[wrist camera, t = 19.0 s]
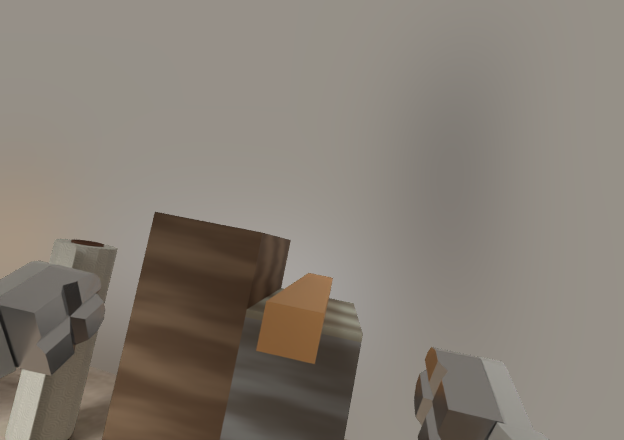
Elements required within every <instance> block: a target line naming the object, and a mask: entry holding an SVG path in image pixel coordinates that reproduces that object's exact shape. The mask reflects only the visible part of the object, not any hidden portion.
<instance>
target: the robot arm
mask: <svg viewBox="0 0 624 440" xmlns="http://www.w3.org/2000/svg"><path fill="white" fill-rule="evenodd" d="M101 288H102V287H101V282H100V278H99V276H97V275H95V274H94V273H90V272H86V271H82V270H78V269H73V268H69V267H65V266H61V265H55V264H51V263H47V262H43V261H34V262H30V263H28V264H26V265H25V266H23V267H21V268H19V269H18V270H16V271H14V272H13V273H11V274H9V275H7V276H5V277H4V278H2V279H0V378H2V377H4V376H6V375H8V374H10V373H12V372H14V371H15V370H16V368H18V369H23V370H27V371H32V372H37V373H41V374H46V375H50V376H52V375H53V374H54V373H55V372H56V371H57V370H58V369H59V368H60V367H61V366H62V365H63V364H64V363H65V362H66V361H67V360H68V359H69V358H70V357H71V356H72V355H73V354H74V353H75V347H76V345H77V344H79V343H82V342H84V341H86V340H89V339H90V338H91V337H92V336H93V335H94V334H95V333H96V332H97V331H98V329H99V327H100V325H101V323H102V321H103V320H104V314H105V306H104V302H103V300H102V299H101V298H100V297H99V295H98V294H97V293H98V292H99V291H100V289H101ZM425 362H426V368H427V369H426V370H425V371H423V372H421V373H420V374H419V377H418V380H417V384H416V390H415V397H414V399H415V400H414V404H415V415H416V418H417V420H418V421H419V422H420V424H421V425H422V427H421V430H420V433H419V435H418V440H549V439H548V438H547V437H546V436H545V435H544V434H543V433H540V432H537V431H534V429H533V427H532V424H531V422H530V420H529V418H528V415H527V413H526V411H525V409H524V406H523V404H522V402H521V400H520V397H519V395H518V393H517V391H516V388H515V386H514V384H513V382H512V380H511V377H510V375H509V373H508V370H507V368H506V366H505V365H504V364H503V363H502V362H501V361H498V360H493V359H488V358H483V357H475V356H471V355H467V354H462V353H457V352H452V351H448V350H443V349H438V348H434V347H431V348H430V350H429V351H428V353H427V356H426V358H425Z"/></svg>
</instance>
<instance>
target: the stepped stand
mask: <svg viewBox="0 0 624 440" xmlns="http://www.w3.org/2000/svg"><path fill="white" fill-rule="evenodd" d="M289 245H290V240H288V239H284V238H280V237H277V236H272V235H269V234H265V233H261V232H256V231H251V230H246V229H241V228H235V227H230V226H225V225H220V224H215V223H210V222H205V221H199V220H194V219H189V218H184V217H179V216H174V215H169V214H164V213H158V212H155V214H154V218H153V223H152V227H151V231H150V235H149V240H148V244H147V248H146V253H145V257H144V261H143V265H142V270H141V274H140V278H139V283H138V287H137V291H136V295H135V300H134V304H133V308H132V313H131V317H130V321H129V326H128V330H127V334H126V338H125V343H124V347H123V351H122V356H121V360H120V364H119V368H118V373H117V377H116V381H115V386H114V390H113V394H112V399H111V403H110V407H109V411H108V416H107V420H106V424H105V429H104V433H103V437H102V440H344V436H345V430H346V425H347V419H348V414H349V408H350V402H351V397H352V391H353V386H354V380H355V375H356V369H357V363H358V357H359V353H360V347H361V341H362V336H363V333H362V331H361V327H360V323H359V320H358V317H357V313H356V310H355V307H354V304H353V303H349V302H344V301H339V300H335V299H330V298H329V300H328V305H327V309H326V314H325V319H324V323H323V328H322V333H321V337H320V342H319V346H318V351H317V356H316V360H315V364H312V363H308V362H303V361H299V360H295V359H290V358H286V357H282V356H277V355H273V354H268V353H264V352H260V351H256V349H257V344H258V339H259V334H260V329H261V324H262V319H263V314H264V309H265V305H266V301H267V300H269V299H270V298H272V297H273V296H275V295H276V294H278V293H279V292H281V291H282V290H284V289H282V288H281V285H282V280H283V276H284V270H285V266H286V260H287V256H288V251H289Z"/></svg>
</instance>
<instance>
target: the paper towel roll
mask: <svg viewBox="0 0 624 440" xmlns="http://www.w3.org/2000/svg"><path fill="white" fill-rule="evenodd" d="M116 253H117V248H115V247H112V246H109V245H104V244H101V243H97V242H92V241H85V240H68V239H56V240H55V242H54V246H53V250H52V253H51V258H50V261H49V263H51V264H55V265H61V266H65V267H69V268H73V269H78V270H82V271H86V272H90V273H94V274H95V275H97V276H99V278H100V282H101V287H102V288H101V289H100V291H99V292H98V293H97V294H98V295H99V297H100V298H101V299H102V300H103V302H104V303H105V299H106V295H107V291H108V287H109V282H110V278H111V274H112V269H113V266H114V261H115V257H116ZM97 333H98V331H97V332H96V333H95V334H94V335H93V336H92V337H91V338H90V339H89V340H86V341H84V342H82V343H79V344H77V345H76V347H75V353H74V354H73V355H72V356H71V357H70V358H69V359H68V360H67V361H66V362H65V363H64V364H63V365H62V366H61V367H60V368H59V369H58V370H57V371H56V372H55V373H54V374H53V375H52V376H50V375H46V374H41V373H37V372H32V371H27V370H23V369H22V372H21V376H20V379H19V383H18V387H17V391H16V395H15V399H14V403H13V407H12V411H11V415H10V419H9V423H8V427H7V431H6V435H5V438H6V440H67V439H69V438H70V437H71V435H72V433H73V431H74V429H75V425H76V421H77V416H78V412H79V408H80V404H81V400H82V395H83V391H84V387H85V383H86V379H87V375H88V370H89V366H90V362H91V358H92V353H93V349H94V345H95V341H96V337H97Z"/></svg>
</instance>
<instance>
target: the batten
mask: <svg viewBox="0 0 624 440" xmlns="http://www.w3.org/2000/svg"><path fill="white" fill-rule="evenodd" d="M332 279H333V278H331V277H326V276H321V275H316V274H311V273H308V274H306V275H305V276H304V277H302V278H300V279H299V280H297V281H296V282H294V283H293V284H291V285H290V286H288V287H287V288H285V289H284V290H282V291H281V292H279V293H278V294H276V295H275V296H273V297H272V298H270V299H269V300H267V301H266V305H265V309H264V314H263V319H262V324H261V329H260V334H259V339H258V344H257V349H256V351H260V352H264V353H268V354H273V355H277V356H282V357H286V358H290V359H295V360H299V361H303V362H308V363H312V364H315V360H316V356H317V351H318V346H319V342H320V337H321V333H322V328H323V323H324V319H325V314H326V309H327V305H328V300H329V295H330V290H331V285H332Z"/></svg>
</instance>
